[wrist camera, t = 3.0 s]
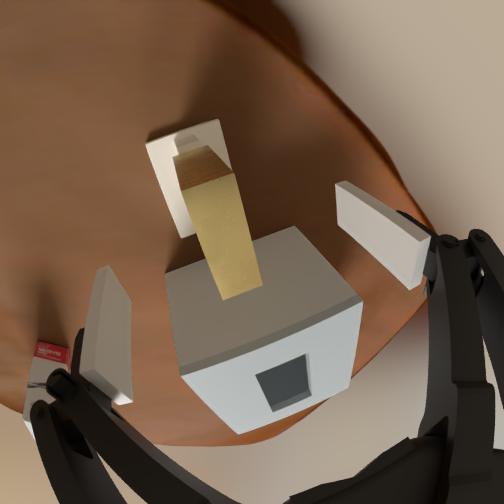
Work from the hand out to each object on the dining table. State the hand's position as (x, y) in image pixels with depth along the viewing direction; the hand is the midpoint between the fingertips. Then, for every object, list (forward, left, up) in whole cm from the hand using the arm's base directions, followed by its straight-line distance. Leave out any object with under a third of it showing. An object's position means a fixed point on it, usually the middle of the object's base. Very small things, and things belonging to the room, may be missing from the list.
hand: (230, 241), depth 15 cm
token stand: (0, 0, -10) cm, 10 cm away
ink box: (+15, -27, -11) cm, 33 cm away
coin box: (+16, +1, -10) cm, 19 cm away
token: (0, 0, -6) cm, 6 cm away
